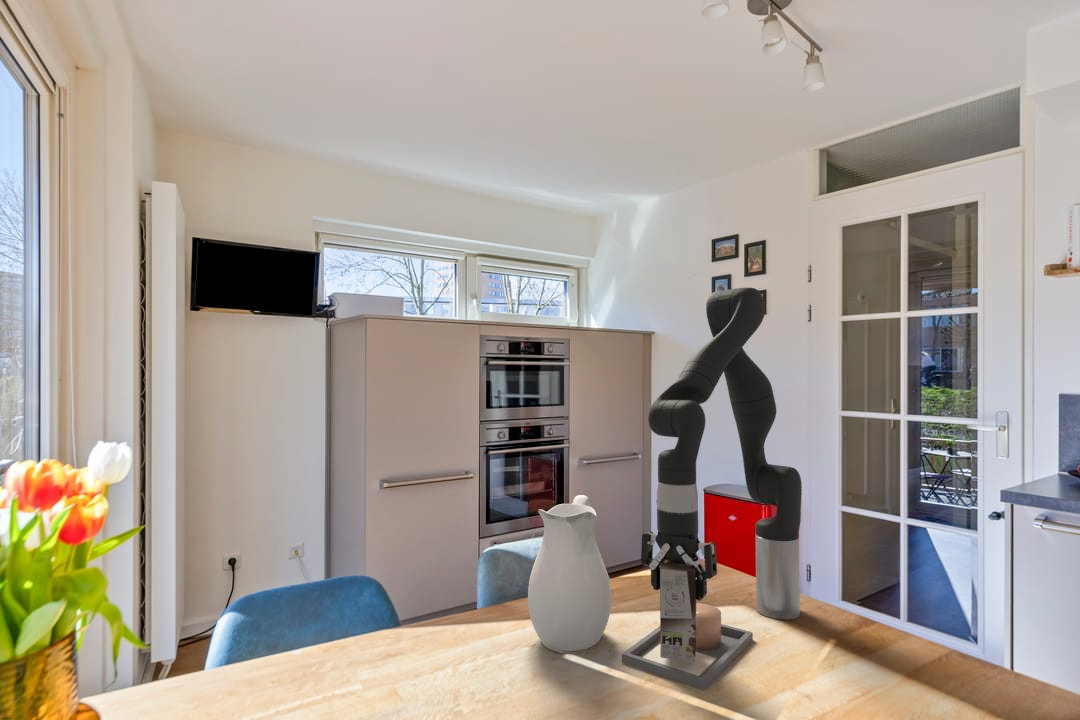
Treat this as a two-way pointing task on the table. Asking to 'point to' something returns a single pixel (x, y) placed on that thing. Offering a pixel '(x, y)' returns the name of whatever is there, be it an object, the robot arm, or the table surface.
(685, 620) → the coffee box
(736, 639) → the serving tray
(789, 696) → the table surface
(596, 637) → the pitcher
